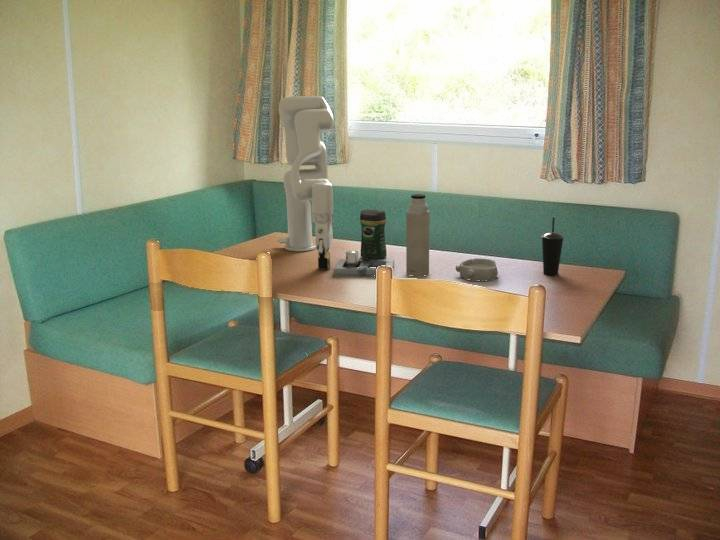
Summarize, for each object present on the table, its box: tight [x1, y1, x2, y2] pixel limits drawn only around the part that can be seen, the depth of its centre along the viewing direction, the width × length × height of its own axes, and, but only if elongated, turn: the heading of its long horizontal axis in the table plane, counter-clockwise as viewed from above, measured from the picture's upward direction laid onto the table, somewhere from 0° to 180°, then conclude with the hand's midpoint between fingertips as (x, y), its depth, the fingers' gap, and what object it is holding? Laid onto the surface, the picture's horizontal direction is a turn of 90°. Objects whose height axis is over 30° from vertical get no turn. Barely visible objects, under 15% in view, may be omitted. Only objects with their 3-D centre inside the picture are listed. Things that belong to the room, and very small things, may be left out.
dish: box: [455, 257, 499, 282], centre depth 266 cm, size 14×14×5 cm
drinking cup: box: [540, 217, 565, 277], centre depth 265 cm, size 8×8×20 cm
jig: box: [333, 258, 395, 277], centre depth 275 cm, size 20×14×2 cm
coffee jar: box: [359, 208, 387, 260], centre depth 291 cm, size 10×8×19 cm
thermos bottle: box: [405, 193, 431, 277], centre depth 267 cm, size 8×8×28 cm
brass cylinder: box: [317, 248, 331, 271], centre depth 279 cm, size 4×4×7 cm
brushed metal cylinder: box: [345, 249, 359, 268], centre depth 275 cm, size 4×4×7 cm
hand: (324, 266), depth 279 cm, fingers closed on brass cylinder, 4 cm apart
